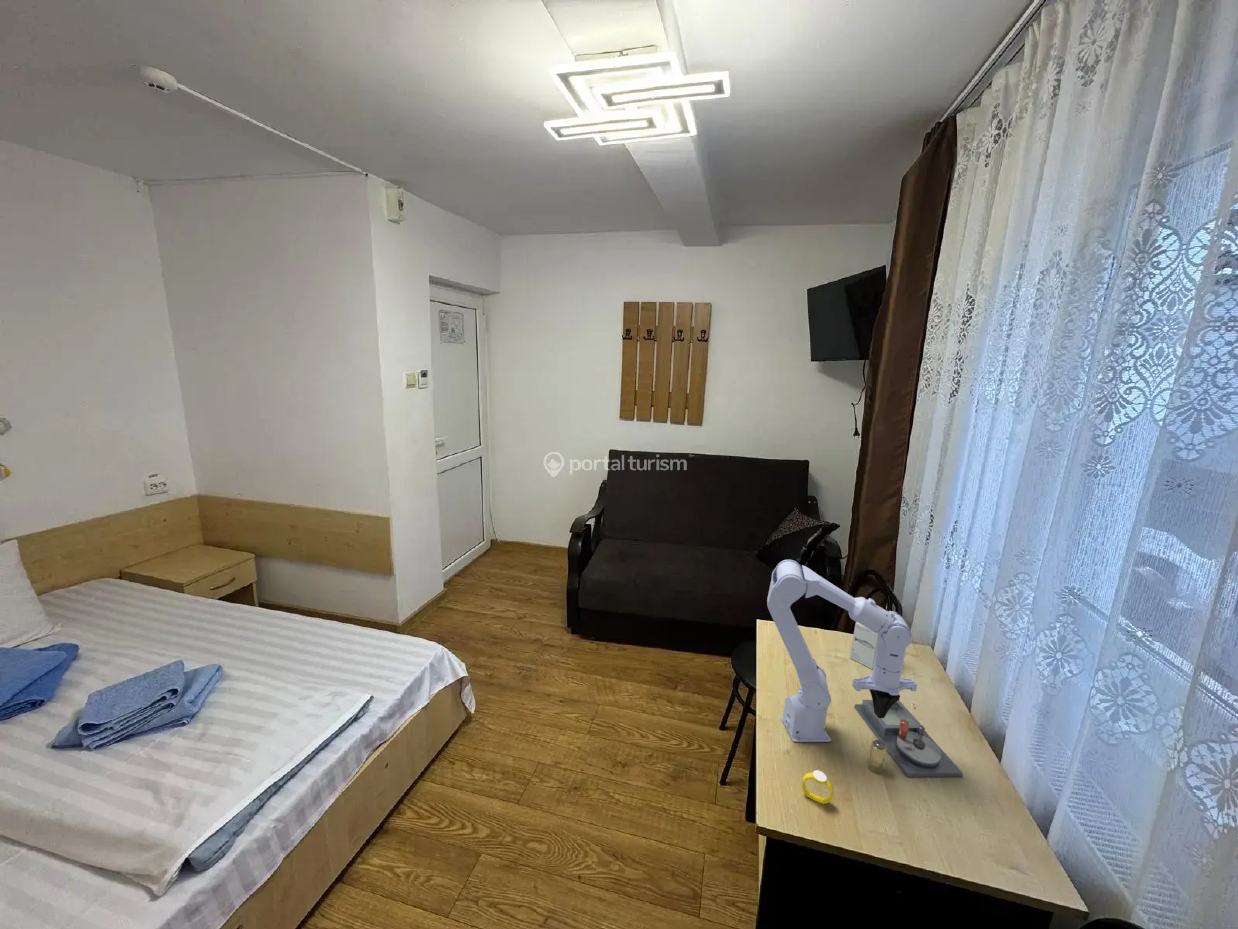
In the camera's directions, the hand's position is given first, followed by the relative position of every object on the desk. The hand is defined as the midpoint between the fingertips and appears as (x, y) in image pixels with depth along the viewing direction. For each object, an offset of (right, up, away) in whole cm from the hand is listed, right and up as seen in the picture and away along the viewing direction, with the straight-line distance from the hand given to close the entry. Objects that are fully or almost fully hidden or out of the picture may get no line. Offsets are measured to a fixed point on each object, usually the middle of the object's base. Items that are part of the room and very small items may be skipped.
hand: (879, 715), depth 114 cm
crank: (+9, -8, -1) cm, 12 cm away
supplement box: (+16, -2, +36) cm, 39 cm away
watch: (-21, -11, -13) cm, 27 cm away
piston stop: (-4, -10, -5) cm, 11 cm away
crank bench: (+8, -8, +4) cm, 12 cm away
